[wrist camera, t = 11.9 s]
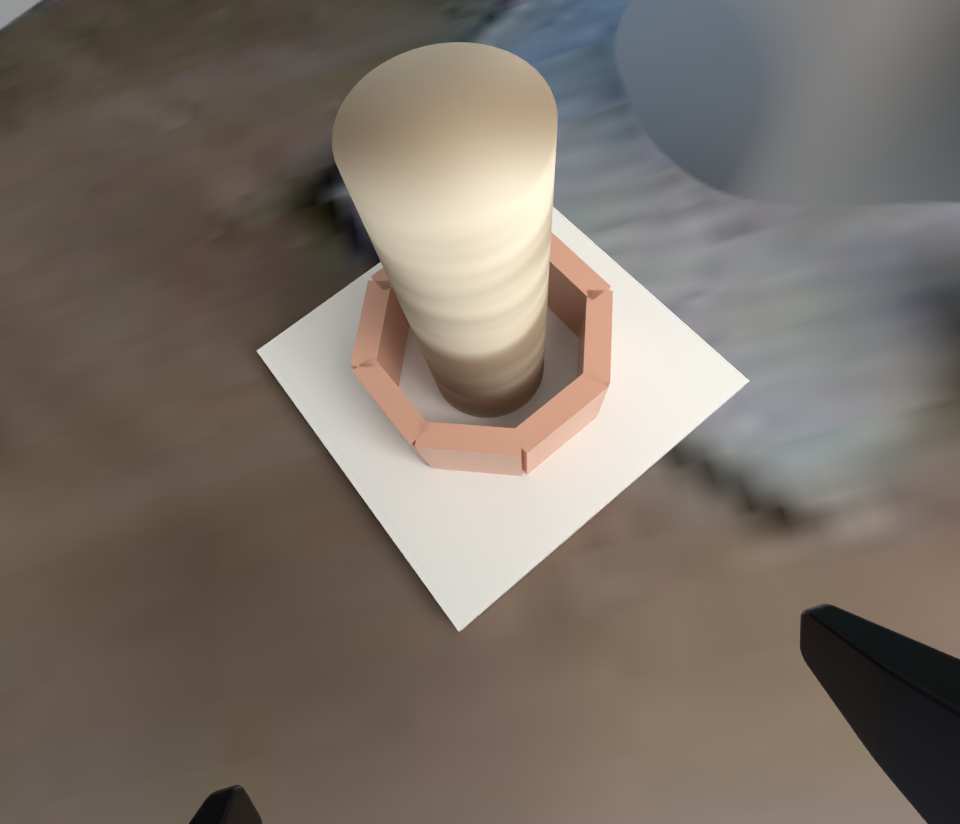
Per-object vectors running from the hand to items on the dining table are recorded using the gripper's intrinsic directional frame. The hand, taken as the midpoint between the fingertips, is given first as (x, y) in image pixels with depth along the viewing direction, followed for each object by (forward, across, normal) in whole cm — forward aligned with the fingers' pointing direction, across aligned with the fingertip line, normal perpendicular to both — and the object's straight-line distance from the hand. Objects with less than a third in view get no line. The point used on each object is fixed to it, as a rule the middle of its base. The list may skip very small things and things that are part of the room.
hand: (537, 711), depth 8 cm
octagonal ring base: (+18, -2, 0) cm, 18 cm away
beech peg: (+17, -2, 0) cm, 17 cm away
